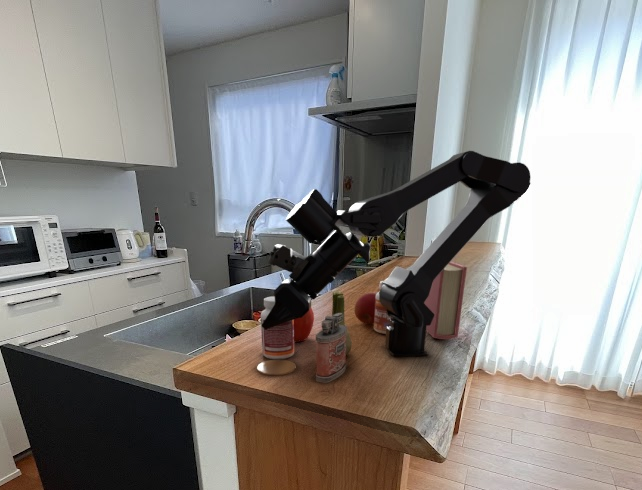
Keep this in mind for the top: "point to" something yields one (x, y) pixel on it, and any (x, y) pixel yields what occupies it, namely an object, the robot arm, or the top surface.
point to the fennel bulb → (339, 308)
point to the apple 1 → (303, 326)
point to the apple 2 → (366, 308)
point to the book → (446, 301)
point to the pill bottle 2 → (380, 315)
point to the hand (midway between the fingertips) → (268, 321)
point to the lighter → (331, 349)
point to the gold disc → (276, 367)
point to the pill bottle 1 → (276, 335)
